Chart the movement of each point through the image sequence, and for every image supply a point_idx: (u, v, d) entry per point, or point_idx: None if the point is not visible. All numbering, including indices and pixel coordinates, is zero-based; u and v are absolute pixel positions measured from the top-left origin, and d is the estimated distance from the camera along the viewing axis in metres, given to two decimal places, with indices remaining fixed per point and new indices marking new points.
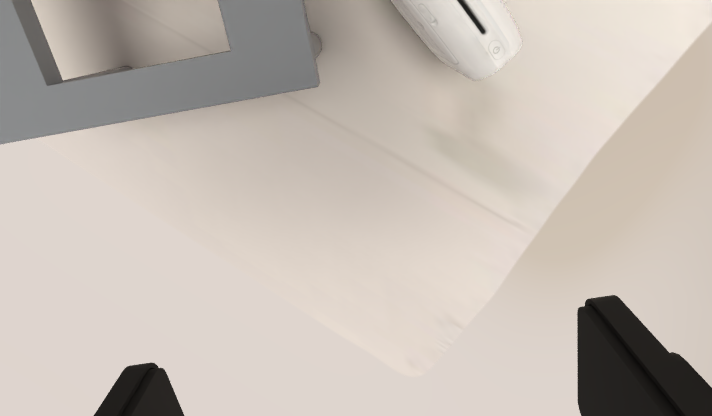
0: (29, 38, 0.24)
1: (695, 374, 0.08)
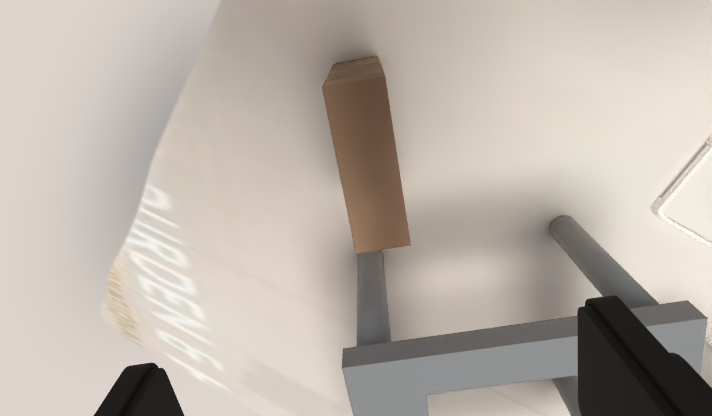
0: None
1: (694, 374, 0.08)
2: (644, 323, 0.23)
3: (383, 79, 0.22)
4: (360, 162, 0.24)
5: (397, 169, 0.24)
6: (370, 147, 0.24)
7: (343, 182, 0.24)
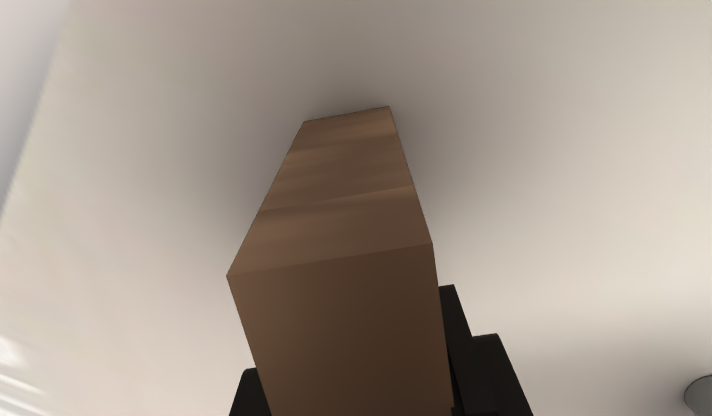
0: None
1: (504, 351, 0.10)
2: None
3: (427, 253, 0.07)
4: None
5: None
6: None
7: None
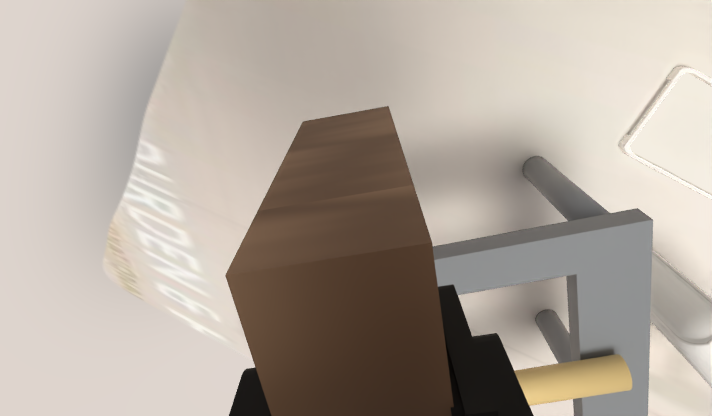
0: None
1: (504, 351, 0.10)
2: (595, 228, 0.25)
3: (426, 252, 0.07)
4: None
5: None
6: None
7: None
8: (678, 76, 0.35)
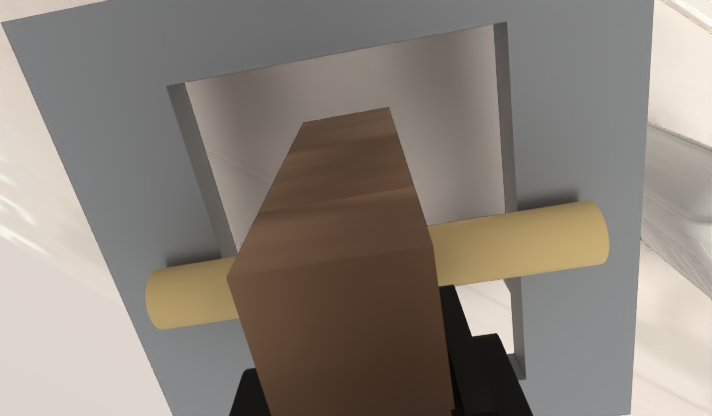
0: None
1: (504, 351, 0.10)
2: None
3: (428, 255, 0.07)
4: None
5: None
6: None
7: None
8: None
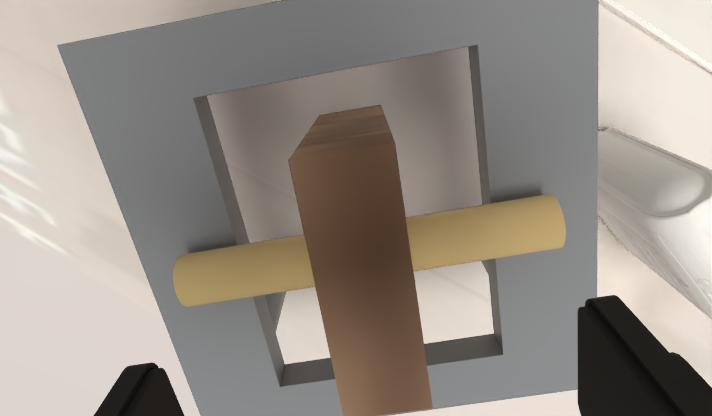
0: (267, 341, 0.21)
1: (695, 374, 0.08)
2: None
3: (392, 148, 0.13)
4: (352, 281, 0.14)
5: (413, 292, 0.14)
6: (368, 257, 0.14)
7: (324, 311, 0.15)
8: None
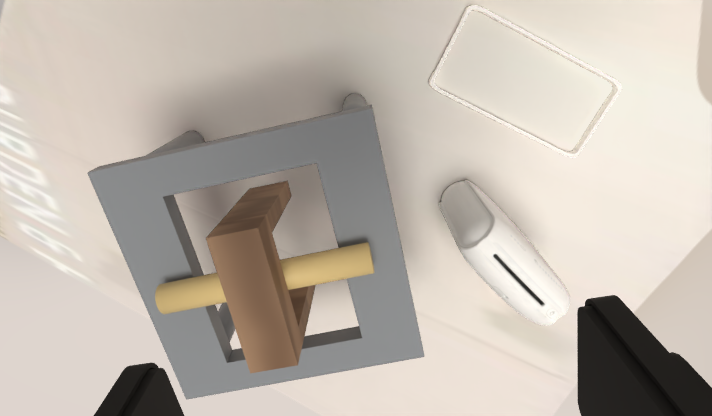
0: (217, 334, 0.34)
1: (695, 374, 0.08)
2: (325, 118, 0.28)
3: (257, 230, 0.26)
4: (245, 297, 0.27)
5: (278, 302, 0.27)
6: (252, 285, 0.27)
7: (232, 314, 0.28)
8: (467, 13, 0.38)
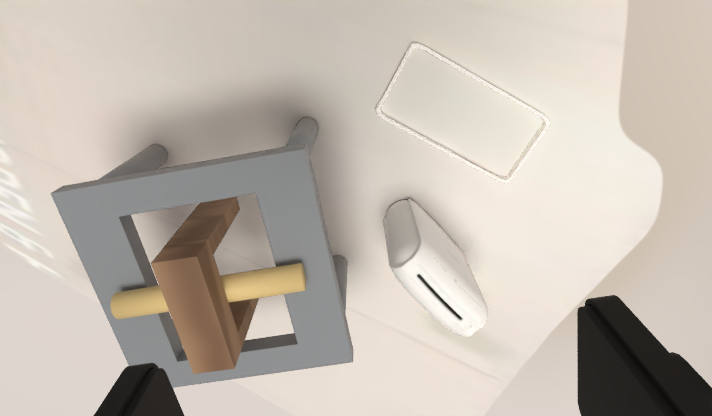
0: (168, 336, 0.38)
1: (695, 374, 0.08)
2: (263, 155, 0.32)
3: (196, 258, 0.30)
4: (187, 312, 0.31)
5: (216, 317, 0.31)
6: (193, 302, 0.31)
7: (176, 325, 0.32)
8: (410, 50, 0.42)
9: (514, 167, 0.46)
